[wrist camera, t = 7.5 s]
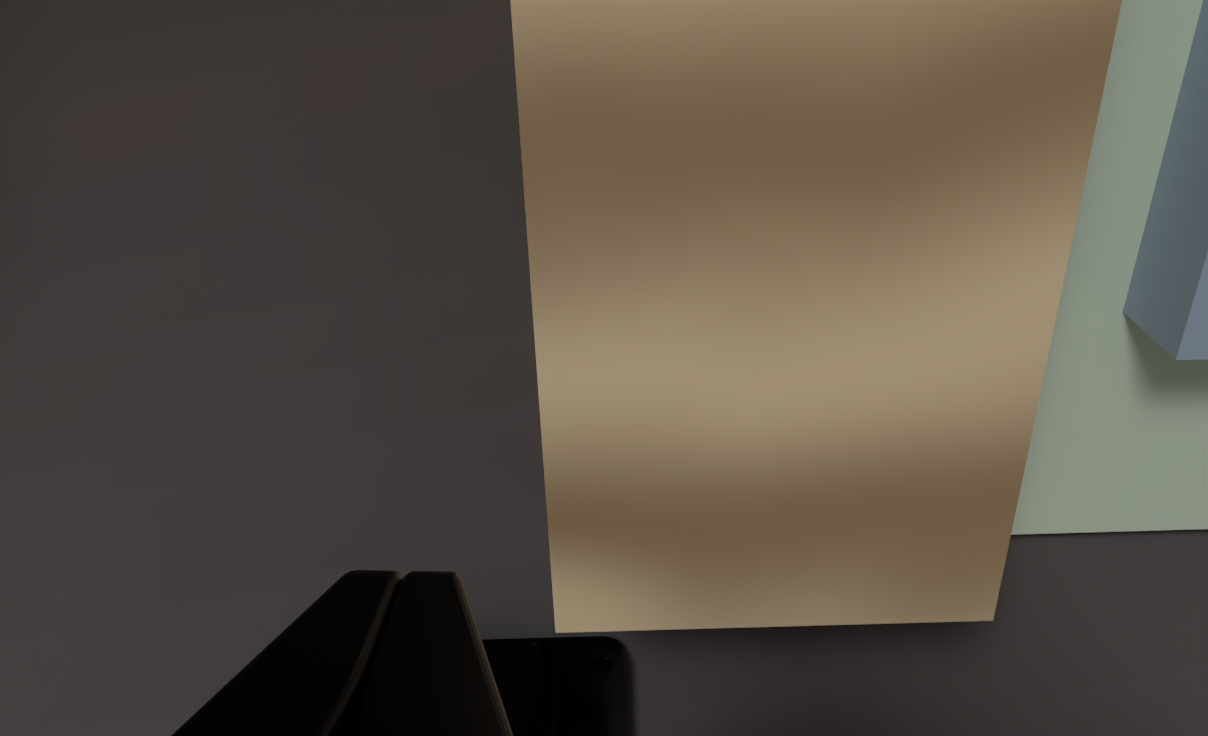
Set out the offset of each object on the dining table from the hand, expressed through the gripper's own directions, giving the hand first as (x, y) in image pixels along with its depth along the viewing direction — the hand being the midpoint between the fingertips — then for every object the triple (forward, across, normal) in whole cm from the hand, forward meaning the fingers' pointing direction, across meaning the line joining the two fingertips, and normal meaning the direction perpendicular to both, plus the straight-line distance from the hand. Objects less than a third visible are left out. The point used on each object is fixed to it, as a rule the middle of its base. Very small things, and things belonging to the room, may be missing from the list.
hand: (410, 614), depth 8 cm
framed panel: (+12, -4, -2) cm, 13 cm away
